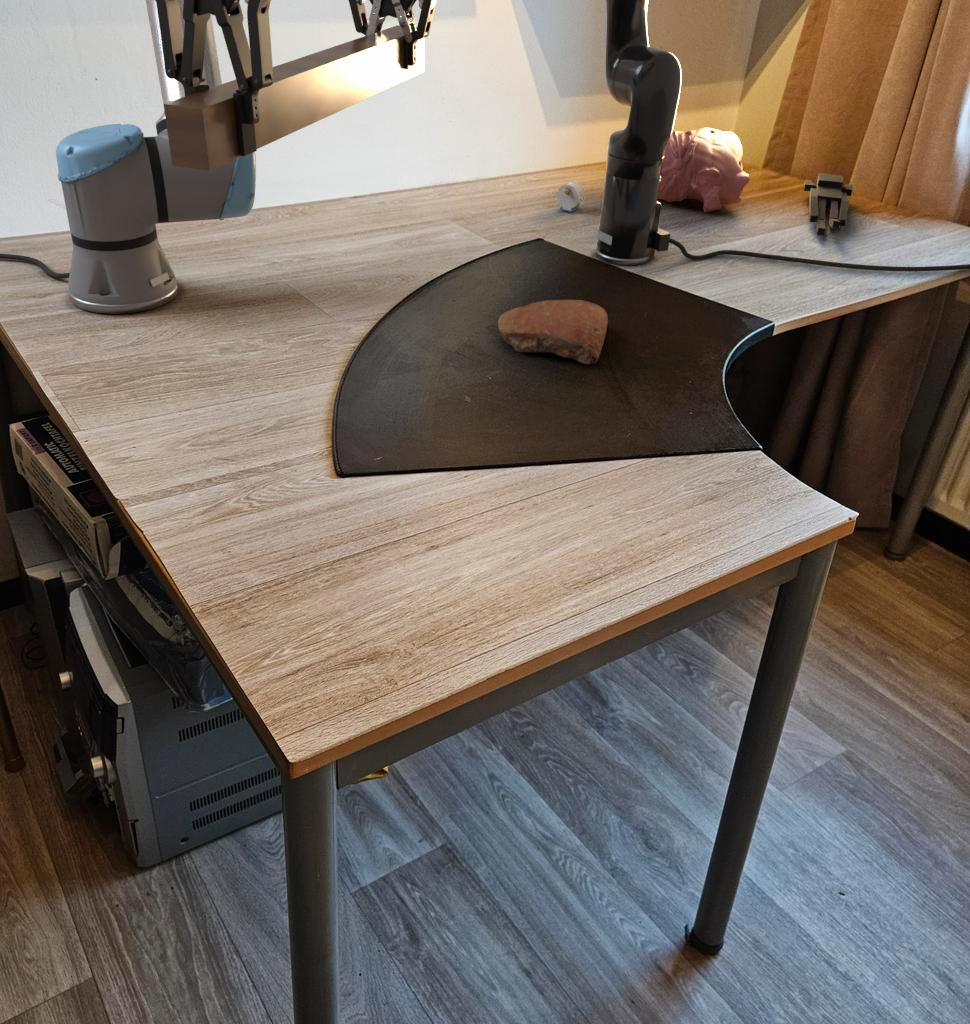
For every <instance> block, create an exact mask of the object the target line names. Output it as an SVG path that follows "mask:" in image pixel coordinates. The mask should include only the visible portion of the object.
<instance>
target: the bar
mask: <svg viewBox="0 0 970 1024" xmlns="http://www.w3.org/2000/svg"><path fill="white" fill-rule="evenodd" d="M416 30H417V26H416ZM425 41H426V37H424V38H422V39H419V40H418V41H417V53H416V54H417V56H416V57H417V61H416V64H415V65H413V68H411V69H404V43H405V42H406V41H405V38H404V34H403V31H402V28H401V26H400V25H399V24H397V25H395V26H391V27H388V28H385V29H383V30H382V29H381V31H379V32H376V33H373V34H370V35H367V36H366V35H364V36H361V37H359V38H356V39H352V40H349V41H346V42H344V43H340V44H338V45H334V46H331V47H328V48H325V49H323V50H320V51H317V52H314V53H311V54H308V55H305V56H302V57H299V58H296V59H292V60H289V61H287V62H284V63H281V64H277V65H274V66H273V79H274V82H273V85H271V86H268V87H265V88H263V89H260V90H259V92H258V100H259V113H260V119H259V122H258V123H255V124H254V125H255V136H256V148H257V150H259V149H260V148H263V147H265V146H268V145H269V144H271V143H274V142H276V141H278V140H280V139H282V138H285V137H287V136H289V135H291V134H293V133H295V132H297V131H299V130H302V129H304V128H306V127H309V126H311V125H313V124H315V123H318V122H319V121H321V120H324V119H326V118H328V117H330V116H332V115H334V114H336V113H338V112H341V111H343V110H345V109H347V108H349V107H352V106H354V105H356V104H359V103H361V102H363V101H365V100H368V99H369V98H372V97H373V96H375V95H378V94H380V93H382V92H384V91H386V90H388V89H391V88H393V87H396V86H398V85H399V84H403V83H404V82H406V81H409V80H410V79H413V78H415V77H417V76H419V75H422V74H423V73H425V70H426V69H425V68H426V67H425V65H426V57H425V56H426V53H425V51H426V50H425V49H426V48H425V45H426V42H425ZM238 89H239V88H238V84H237V81H236V79H233V80H230V81H226V82H223V83H222V84H221V85H218V86H215V87H212V88H209V89H206V90H203V91H200V92H197V93H194V94H191V95H188V96H185V97H182V98H179V99H176V100H173V101H170V102H167V103H165V104H164V105H163V112H164V111H165V118H166V125H167V132H168V139H169V146H170V153H171V160H172V166H178V167H185V168H192V169H199V170H206V171H211V170H213V169H215V168H217V167H219V166H221V165H224V164H226V163H228V162H230V161H232V160H234V159H237V158H239V157H241V156H240V155H239V152H238V141H237V131H236V121H235V110H234V100H233V94H234V93H236V91H235V90H238Z"/></svg>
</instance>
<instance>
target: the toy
mask: <svg viewBox="0 0 970 1024" xmlns="http://www.w3.org/2000/svg"><path fill="white" fill-rule="evenodd" d="M843 184H844V176H843V175H839V174H831V173H822V172H819V173H818V175H817V179H816V183H813V180H812V179H808V178H807V179H805V180H804V184H803V191H805V192H809V194H808V198H809V199H808V200H809V201H808V202H809V223H815V230H816V235H817V236H822V237H823V236H825V233H826V229H827V228H826V221H825V218H826V210H829V217H828V226H829V227H830V228H831V229H837V230H838V229H840V227H843V228H844V227H845V228H846V224H847V221H848V219H847V218H848V212H849V206H850V201H849V197H852V193H853V184H850V183H849V184H848V183H846V184H844V186H843Z"/></svg>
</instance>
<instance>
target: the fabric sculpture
mask: <svg viewBox="0 0 970 1024" xmlns="http://www.w3.org/2000/svg"><path fill="white" fill-rule="evenodd" d="M742 159H743V145H742V144H741V141H740V138H739V137H738V135H736V133H734V132H732V131H722V130H720V129H716V128H713V127H700V128H698V129H693V130H688V131H680V130H679V131H678V130H676V131H674V130H673V131H672V134H671V137H670V139H669V141H668V143H667V145H666V147H665V151H664V157H663V164H662V171H661V179H660V186H659V193H658V199H659V200H663V201H665V202H667V203H671V202H678V203H679V202H682V201H684V200H685V199H688V200H697V201H698V202H700V203H701V204H703V207H702V209H703V212H704V213H709V212H712V211H713V212H714V211H719V210H721V207H724V206H732V205H736V204H739V203H740V202H741V201H742V197H741V196H742V195H741V194H742V192H743V191H744V189H745V187H746V186H747V185H748V184H749V183H750V174H749V173H747V172H745V171H744V170H743V163H742Z"/></svg>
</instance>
